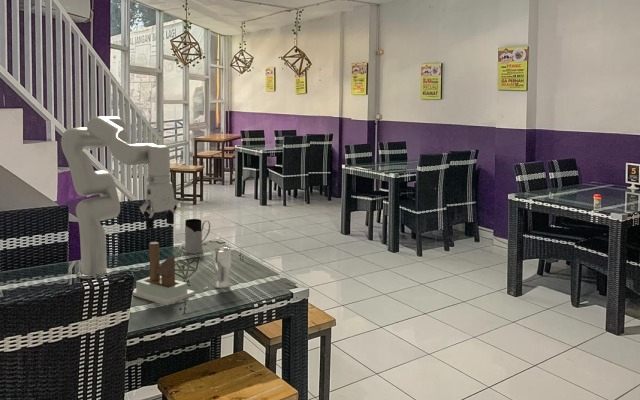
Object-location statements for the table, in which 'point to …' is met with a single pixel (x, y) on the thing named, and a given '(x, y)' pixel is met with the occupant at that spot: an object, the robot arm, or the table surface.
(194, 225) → the grey handled cylinder
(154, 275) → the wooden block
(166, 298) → the end cap
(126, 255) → the table surface
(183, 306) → the table surface
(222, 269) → the beer glass
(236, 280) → the table surface
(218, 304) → the table surface
